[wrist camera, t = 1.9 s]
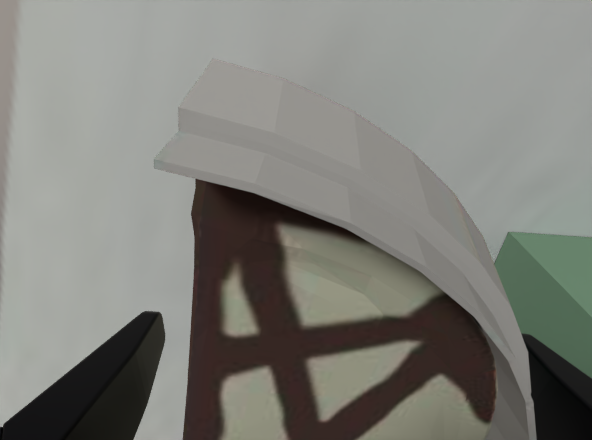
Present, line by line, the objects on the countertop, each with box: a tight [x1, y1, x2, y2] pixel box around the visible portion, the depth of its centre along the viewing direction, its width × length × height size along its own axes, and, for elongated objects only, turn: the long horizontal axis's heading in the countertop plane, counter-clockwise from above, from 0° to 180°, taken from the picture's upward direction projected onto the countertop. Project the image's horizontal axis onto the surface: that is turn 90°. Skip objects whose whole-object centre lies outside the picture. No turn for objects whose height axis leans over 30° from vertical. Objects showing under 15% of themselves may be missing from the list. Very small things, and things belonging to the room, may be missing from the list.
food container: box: [154, 59, 537, 440], centre depth 10 cm, size 12×6×10 cm, turn 170°
